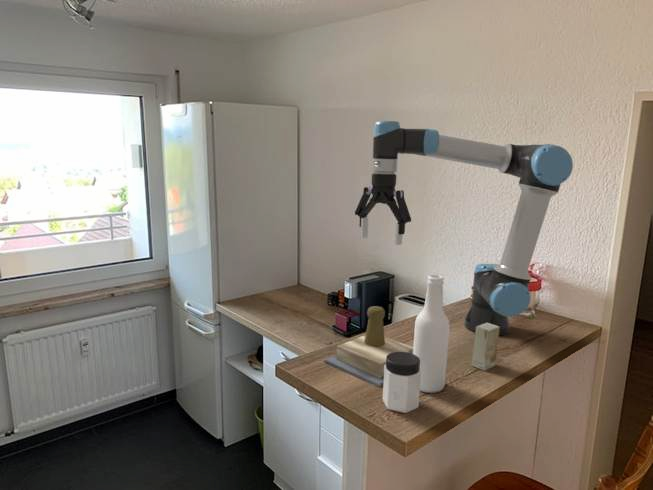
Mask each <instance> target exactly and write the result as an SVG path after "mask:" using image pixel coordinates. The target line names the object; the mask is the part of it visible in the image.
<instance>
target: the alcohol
mask: <svg viewBox="0 0 653 490" xmlns="http://www.w3.org/2000/svg"><path fill="white" fill-rule="evenodd" d="M444 280H445V277H444V276H442V275H439V274H431V275H429V276H427V288H426V293H425V294H426V295H425V300H424V306H423V309H422V310H421V311H420V312H419V313H418V315H417V316H416V318H415V322H414V334H413V336H414V337H413V346H412V347H413V354H414V355H416V356H417V357H419V359H420V372H421V378H420V392H422V393H427V394H436V393H439V392H441V391H442V390H443V389H444V388H445V386H446V374H447V362H448V351H449V339H450V327H451V326H450V320H449V318H448V316H447V314H446V313H445V312H444V283H445V282H444Z"/></svg>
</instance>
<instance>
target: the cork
mask: <svg viewBox="0 0 653 490" xmlns="http://www.w3.org/2000/svg"><path fill="white" fill-rule="evenodd" d="M366 314H367V317H368V321H367V325H366V326H367V327H366V331H365V335H366V336H365V341H364V343H365V344H366V345H368V346H372V347H380V346H383V345H384V344H385V340H384V337H385V331H384V327H385V326H384V318H385V315H386V311H385V309H384V308H383V307H382V306H378V305H376V306H375V305H374V306H369V307H368V308H367V312H366Z"/></svg>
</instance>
